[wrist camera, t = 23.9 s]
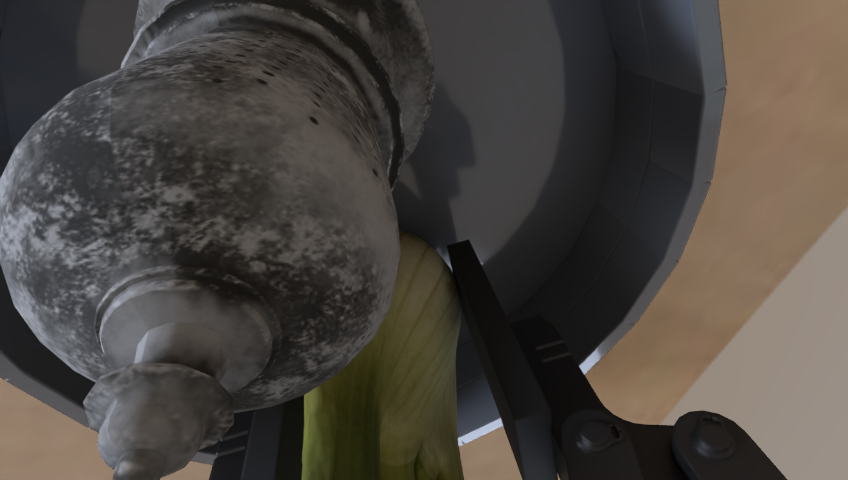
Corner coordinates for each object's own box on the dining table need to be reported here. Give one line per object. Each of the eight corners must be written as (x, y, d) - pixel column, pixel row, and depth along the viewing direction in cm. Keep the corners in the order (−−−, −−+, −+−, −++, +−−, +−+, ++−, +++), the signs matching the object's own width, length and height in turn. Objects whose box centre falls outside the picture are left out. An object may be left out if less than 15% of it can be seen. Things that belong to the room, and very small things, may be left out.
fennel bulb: (297, 206, 14) (196, 774, 4) (444, 190, 15) (672, 654, 5) (325, 337, 17) (307, 847, 7) (447, 319, 18) (588, 768, 8)
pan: (205, 421, 20) (172, 530, 16) (-240, -122, 9) (-648, -189, 5) (616, 304, 20) (681, 382, 16) (635, -341, 10) (828, -546, 6)
